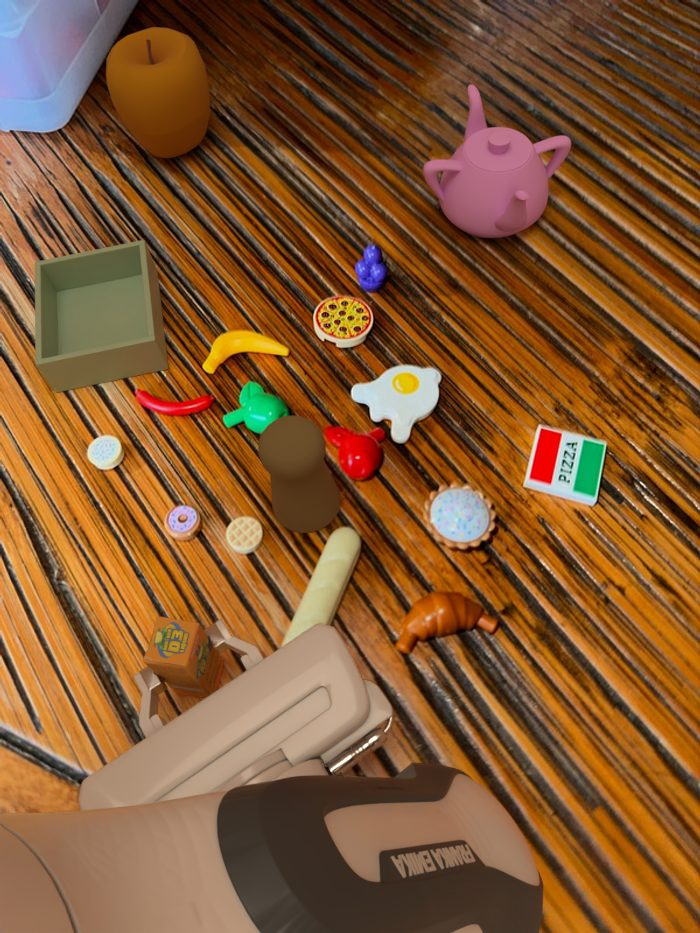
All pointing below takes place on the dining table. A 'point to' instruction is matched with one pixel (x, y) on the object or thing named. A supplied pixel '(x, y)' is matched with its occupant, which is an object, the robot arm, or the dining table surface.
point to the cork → (298, 474)
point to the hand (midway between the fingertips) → (179, 648)
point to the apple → (160, 90)
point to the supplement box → (184, 657)
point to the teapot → (494, 177)
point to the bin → (98, 317)
